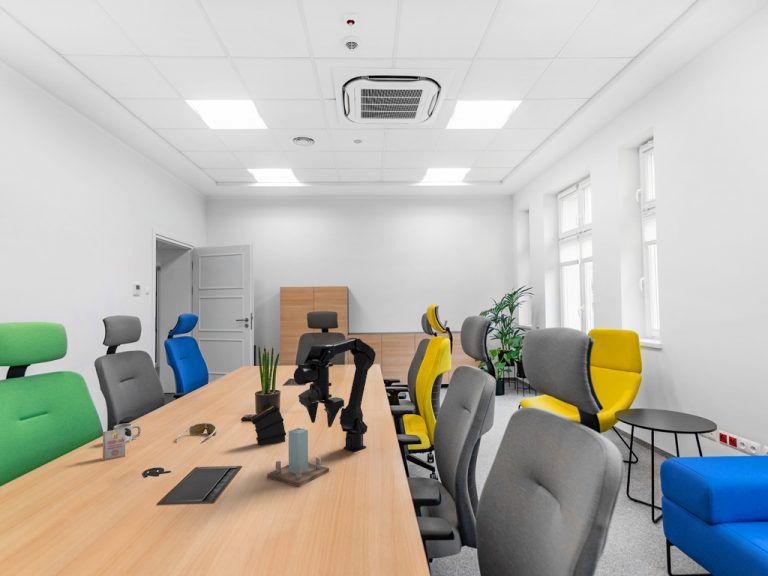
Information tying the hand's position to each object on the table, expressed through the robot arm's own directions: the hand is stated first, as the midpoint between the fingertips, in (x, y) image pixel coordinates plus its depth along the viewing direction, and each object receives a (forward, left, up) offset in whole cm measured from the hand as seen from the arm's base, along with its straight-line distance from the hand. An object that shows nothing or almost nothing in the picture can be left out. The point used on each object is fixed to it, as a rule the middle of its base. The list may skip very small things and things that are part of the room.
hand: (321, 424), depth 150 cm
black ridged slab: (0, -34, -13) cm, 36 cm away
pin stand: (+12, +3, -13) cm, 18 cm away
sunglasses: (+16, -63, -14) cm, 67 cm away
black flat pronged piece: (+41, -33, -14) cm, 55 cm away
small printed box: (+47, -64, -13) cm, 81 cm away
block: (+12, +3, -12) cm, 17 cm away
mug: (+37, -83, -13) cm, 92 cm away
